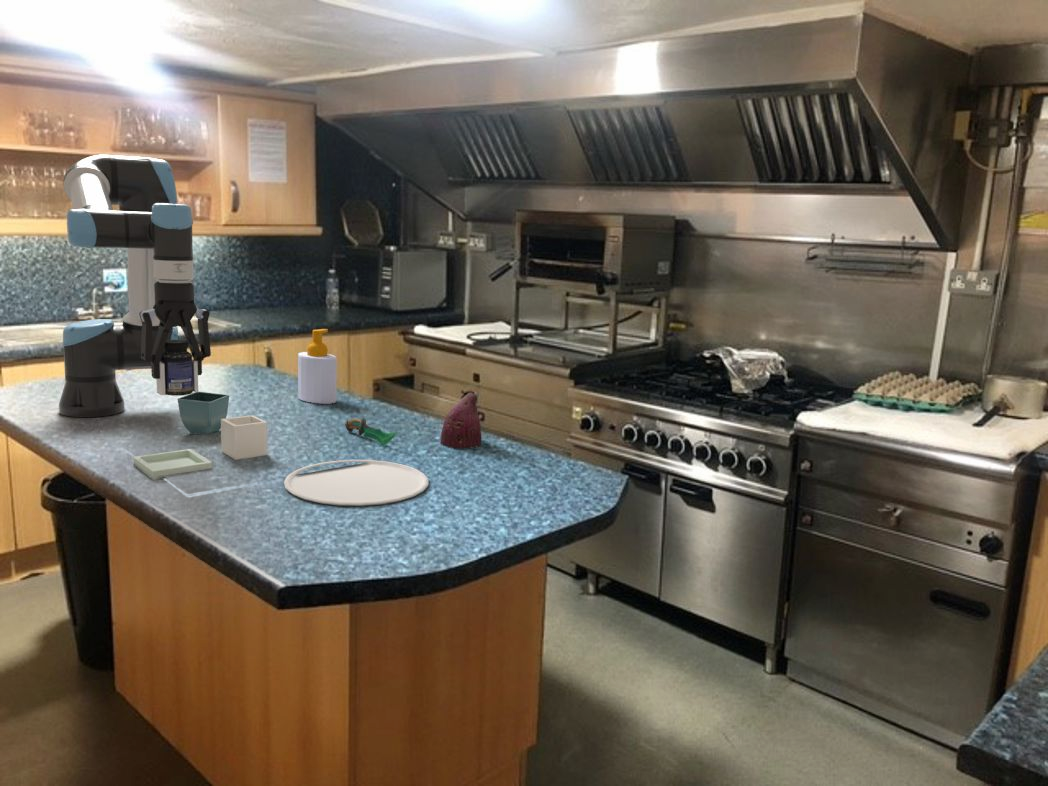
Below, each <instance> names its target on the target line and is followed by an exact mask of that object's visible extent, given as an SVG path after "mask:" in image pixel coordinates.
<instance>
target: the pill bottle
mask: <svg viewBox="0 0 1048 786" xmlns="http://www.w3.org/2000/svg"><path fill="white" fill-rule="evenodd" d="M164 348H165V352H163V354H162V357H161V363H164V369H165V395H164V396H171V397H172V396H173V397H174V396H175V397H181V396H182V397H183V396H186V395H189V394H192V393H194V391H193V369H192V359H193V357H192V354H191V352H190V351H188V348H189V346H188V341H187V340H186V339H178V340H166V344H165V347H164Z"/></svg>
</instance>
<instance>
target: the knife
mask: <svg viewBox="0 0 1048 786" xmlns="http://www.w3.org/2000/svg"><path fill="white" fill-rule="evenodd" d="M344 424H345V425H344V426H345V429H346V431H348V433H349V432H350V433H352V432H353V431H354V430H357V431H358V432H357V433H358V436H362V435H363V436H362V437H363V438H369V439H373V440H375V441H376V442H378V443H379V444H380V445H382V446H385V445H387V444H388V443H390V442H391V441H392V440H393V439H394V438H395V436H396V435H397V433H398V430H396V431H394V432H393V431H392V432H389V433H388V432H384V431H383V430H382V429H381V428H374V427H372V426H369V424H367V420H366V419H365V418H361V419H359V418H353V419H349V420H346V421H345V423H344Z"/></svg>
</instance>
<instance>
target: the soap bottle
mask: <svg viewBox="0 0 1048 786" xmlns="http://www.w3.org/2000/svg"><path fill="white" fill-rule="evenodd" d="M326 333H329V329H328V328H321V329H313V330H312V342H311V343H310V344H308V345H307V347H306V351H301V352H298V355H297V360H298V361H297V390H298V391H297V396H298V397H297V398H298V399H299V400H301V401H303V402H306V403H310V402H311V404H317V403H318V405H319V404H320V405H330V404H331V405H332V403H333V404H335V403H337V400H338V399H337V398H338V395H337V394H338V392H337V391H338V388H337V387H338V386H337V385H338V358H337V356H335V355H334V354H330V353H329V352H328V347H327V344H325V343H324V342H323V334H326Z"/></svg>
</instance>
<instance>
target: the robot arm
mask: <svg viewBox="0 0 1048 786" xmlns="http://www.w3.org/2000/svg"><path fill="white" fill-rule="evenodd" d="M174 176H175V175H174V173H173V170H172V167H171V165H170V163H169V162H168V161H167V160H164V159H159V158H153V157H149V156H148V157H145V156H144V157H143V156H142V157H141V156H128V155H127V156H126V155H110V154H98V155H97V154H96V155H91V156H88V157H85V158H82V159H81V160H78V161H77V162H75V163H73V164H72V165H71V166H69V168H68V169H67V171H66V172H65V174H64V177H63V184H62V185H63V189H64V193H65V195H66V197H67V198H68V199H69V201H71V203H72V206H73V207H72V208H73V209H71V208H70V209H69V210H68V211H67V212H66V229H67V241H68V243H69V244H70V246H73V247H76V248H77V247H81V248H87V249H93V248H95V249H96V248H99V249H100V248H101V249H102V248H103V249H105V248H106V249H126V250H127V251H126V252H127V283H128V284H127V286H128V288H127V290H128V291H127V292H128V312H127V313H125V315H124V316H122V324H115V322H114V321H113V319H110V318H109V319H108V318H103V319H100V318H97V319H89V320H88V319H87V320H81V321H77V322H74V323H70V324H67V325H66V326H65V327H64V329H63V330H62V343H61V344H62V347H63V361H64V363H63V365H64V381H65V383H64V386H63V389H62V393H61V395H60V399H59V403H58V412H59V414H60V415H63V416H65V417H71V418H72V417H73V418H98V417H107V416H112V415H113V416H114V415H117V414H119V413H121V412H122V413H123V412H124V411H125V410H126V409H125V408H126V407H125V400H124V398H123V395H122V392H121V390H120V386H119V385H118V382H117V378H116V377H117V376H116V371H122V370H123V371H125V370H126V371H128V370H129V371H130V370H151V377H152V379H154V380H156V393H157V395H160V396H166V395H165V369H164V363H161V357H162V354H163V352H165V348H164V347H165V344H166V340H179V330H178V327H180V329H181V330H182V332H183V334H184V335H183V336H184V337H185V340H187V341H188V348H189V352H190V353H191V355H192V369H193V393H194V392H199V376H202V374H203V364H202V363H203V361H204V359H205V358H210V356H212V354H211V353H212V352H211V343H210V332H209V319H210V313H211V312H210V310H207V309H205V308H197V306H196V304H195V284H194V283H193V282H191V281H193V280H194V257H193V255H194V254H193V253H194V251H193V244H194V243H193V224H194V220H193V217H192V215H193V214H192V207H190V206H189V205H188V204H183V203H182V204H181V203H180V204H178V197H177V187H176V182H175V177H174ZM114 205H115V206H119V207H118V208H119V210H114V209H113V206H114ZM194 316H195V318H197V328H198V339H199V343H198V340H197V337H196V336H195V332H194V327H193V324H192V321H191V320H192V319H193V317H194Z"/></svg>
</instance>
